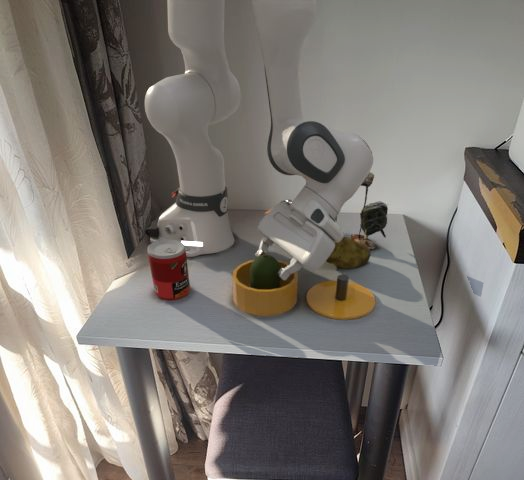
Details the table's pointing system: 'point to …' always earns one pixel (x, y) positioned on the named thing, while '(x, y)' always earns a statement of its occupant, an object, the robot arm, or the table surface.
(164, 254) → the canned food
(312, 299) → the lid
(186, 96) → the robot arm
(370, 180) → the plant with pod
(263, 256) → the avocado
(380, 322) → the table surface
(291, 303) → the pot
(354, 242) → the potato
